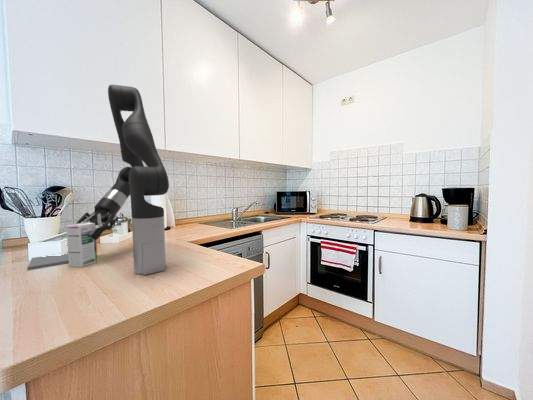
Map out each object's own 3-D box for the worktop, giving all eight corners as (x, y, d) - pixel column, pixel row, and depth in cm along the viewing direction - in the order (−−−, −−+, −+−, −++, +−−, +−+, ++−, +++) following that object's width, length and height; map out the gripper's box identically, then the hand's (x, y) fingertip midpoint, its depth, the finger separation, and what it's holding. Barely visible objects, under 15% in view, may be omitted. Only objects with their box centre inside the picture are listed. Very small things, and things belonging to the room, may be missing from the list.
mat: (75, 262, 82) (75, 259, 82) (27, 270, 74) (27, 267, 74) (74, 254, 93) (74, 251, 93) (32, 260, 85) (32, 257, 85)
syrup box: (82, 267, 77) (79, 224, 76) (68, 266, 78) (65, 224, 77) (97, 262, 82) (95, 222, 81) (84, 261, 83) (82, 222, 83)
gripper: (90, 196, 90) (59, 231, 79) (120, 196, 86) (92, 232, 76) (103, 209, 95) (76, 242, 85) (131, 209, 92) (107, 244, 81)
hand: (83, 237), depth 80 cm, fingers open, 8 cm apart
